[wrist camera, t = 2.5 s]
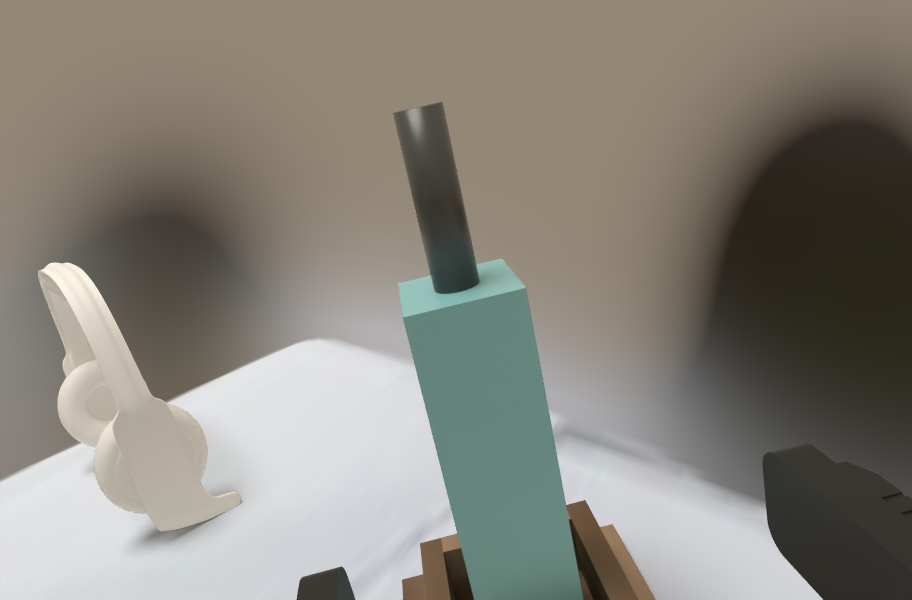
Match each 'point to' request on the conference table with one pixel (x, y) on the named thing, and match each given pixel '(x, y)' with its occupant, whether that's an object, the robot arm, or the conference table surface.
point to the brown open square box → (597, 555)
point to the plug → (482, 389)
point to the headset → (125, 413)
